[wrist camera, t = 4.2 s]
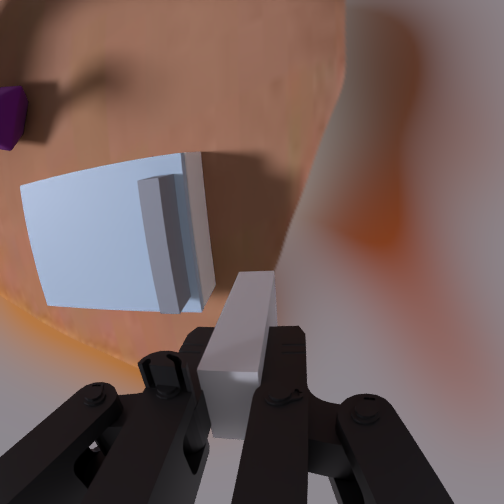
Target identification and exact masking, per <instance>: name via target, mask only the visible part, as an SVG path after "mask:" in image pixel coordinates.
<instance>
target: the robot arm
mask: <svg viewBox="0 0 504 504" xmlns="http://www.w3.org/2000/svg"><path fill="white" fill-rule="evenodd" d="M138 366H139V369H140V372H141V375H142V378H143V381H144V384H145V386H146V388H145V389H144V391H143V393H138V394H127V395H118V394H117V392H116V390H115V388H114V387H113V386H112V385H110V384H108V383H104V382H97V383H92V384H89V385H86V386H85V387H83V388H81V389H80V390H79V391H77V392H76V393H75V394H74V395H73V396H72V397H70V398H69V399H68V400H67V401H66V402H64V403H63V404H62V405H61V406H60V407H59V408H58V409H56V410H55V411H54V412H53V413H51V414H50V415H49V416H48V417H47V418H46V419H45V420H43V421H42V422H41V423H40V424H39V425H37V426H36V427H35V428H34V429H33V430H32V431H30V432H29V433H28V434H27V435H26V436H25V437H23V438H22V439H21V440H20V441H19V442H17V443H16V444H15V445H14V446H13V447H12V448H10V449H9V450H8V451H7V452H6V453H5V454H4V455H2V456H1V457H0V504H194V502H195V499H196V495H197V491H198V489H199V485H200V482H201V478H202V475H203V471H204V468H205V464H206V461H207V457H208V454H209V443H208V439H207V437H208V434H209V431H210V428H211V430H212V434H213V437H215V438H227V439H241V440H244V444H243V449H242V455H241V459H240V464H239V469H238V475H237V479H236V484H235V488H234V493H233V498H232V503H231V504H307V489H308V472H311V473H315V474H319V475H324V476H328V477H329V480H330V483H331V486H332V489H333V491H334V494H335V497H336V500H337V502H338V504H454V502H453V501H452V499H451V497H450V496H449V494H448V493H447V491H446V489H445V488H444V486H443V484H442V483H441V481H440V480H439V478H438V476H437V475H436V473H435V472H434V470H433V469H432V467H431V465H430V464H429V462H428V461H427V459H426V457H425V456H424V454H423V453H422V451H421V450H420V448H419V447H418V445H417V443H416V442H415V441H414V439H413V437H412V436H411V434H410V433H409V431H408V429H407V428H406V426H405V425H404V423H403V422H402V420H401V419H400V417H399V416H398V414H397V413H396V411H395V410H394V408H393V407H392V405H391V404H390V403H389V402H388V401H387V400H386V399H384V398H382V397H380V396H378V395H373V394H358V395H354V396H352V397H349V398H347V399H346V400H345V401H344V402H342V403H341V404H334V403H329V402H326V401H323V400H321V399H318V398H317V397H315V396H314V395H313V394H312V393H311V392H310V390H309V389H308V386H307V373H306V372H307V370H306V340H305V333H304V332H303V331H302V329H301V328H300V327H299V326H277V310H276V290H275V271H249V272H239V273H238V276H237V278H236V280H235V282H234V285H233V287H232V289H231V292H230V294H229V296H228V299H227V301H226V303H225V306H224V308H223V310H222V313H221V315H220V317H219V319H218V322H217V324H216V326H215V327H197V328H196V329H194V330H193V331H192V332H191V333H189V334H188V335H187V337H186V339H185V341H184V343H183V345H182V346H181V348H180V350H179V352H173V351H159V352H155V353H151V354H149V355H147V356H146V357H144V358H142V359H141V360H140V361H139V362H138ZM94 441H95V442H96V444H97V445H98V446H97V447H95V448H94V449H90V448H89V446H90V445H91V444H92V443H93V442H94Z"/></svg>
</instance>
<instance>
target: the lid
mask: <svg viewBox="0 0 504 504" xmlns="http://www.w3.org/2000/svg"><path fill="white" fill-rule="evenodd" d="M20 190H21V197H22V203H23V209H24V214H25V220H26V225H27V230H28V235H29V239H30V244H31V248H32V252H33V256H34V260H35V264H36V268H37V271H38V275H39V279H40V282H41V286H42V289H43V292H44V295H45V299H46V302H47V305H49V306H62V307H76V308H91V309H109V310H131V311H160V313H163V314H180V313H181V312H202V311H203V309H204V305H203V298H202V292H201V285H200V279H199V272H198V265H197V258H196V251H195V244H194V236H193V228H192V221H191V212H190V204H189V196H188V187H187V177H186V168H185V158H184V153H176V154H169V155H162V156H156V157H149V158H143V159H137V160H132V161H126V162H121V163H115V164H110V165H105V166H100V167H95V168H90V169H86V170H81V171H77V172H72V173H68V174H64V175H60V176H56V177H52V178H48V179H44V180H40V181H36V182H33V183H29V184H25V185H22V186H20Z"/></svg>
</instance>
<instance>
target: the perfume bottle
mask: <svg viewBox="0 0 504 504" xmlns="http://www.w3.org/2000/svg"><path fill="white" fill-rule="evenodd" d="M27 107H28V100H27V97H26V95H25V92H24V90H23V88H22V86H10V87H0V149H2V150H8V151H11V150H12V149H13V148H14V146H15V145H16V143H17V142H18V140H19V139H20V137H21V136H22V134H23V132H24V125H25V119H26V113H27Z"/></svg>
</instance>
